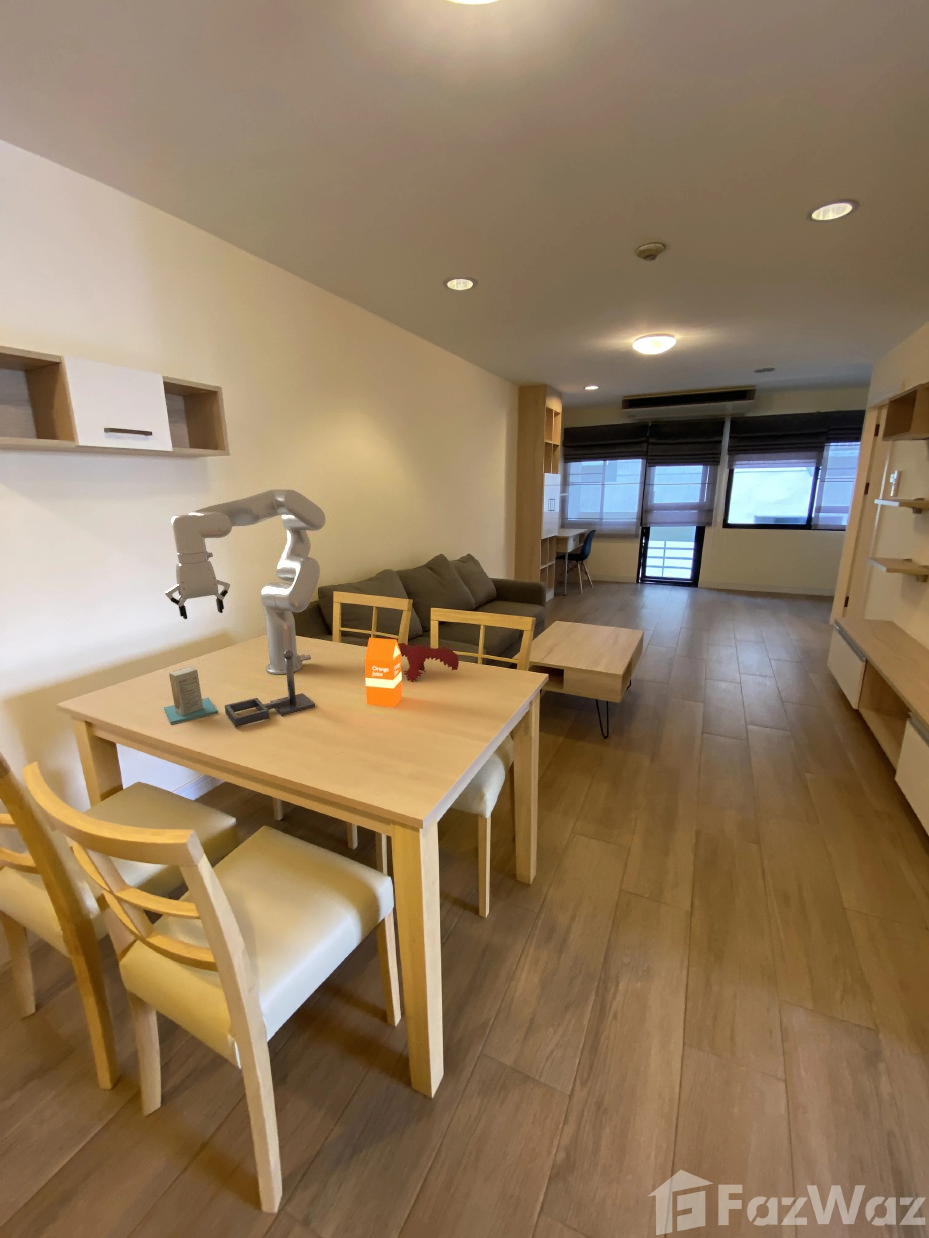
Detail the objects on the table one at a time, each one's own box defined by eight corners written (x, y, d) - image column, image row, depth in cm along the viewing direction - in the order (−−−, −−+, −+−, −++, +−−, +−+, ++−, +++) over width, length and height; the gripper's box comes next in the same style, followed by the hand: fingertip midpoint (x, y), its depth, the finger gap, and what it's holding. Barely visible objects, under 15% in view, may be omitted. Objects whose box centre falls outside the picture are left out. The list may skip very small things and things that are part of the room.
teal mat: (208, 699, 154) (208, 697, 154) (218, 713, 145) (217, 710, 145) (164, 709, 147) (163, 707, 147) (170, 724, 138) (170, 721, 137)
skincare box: (196, 704, 148) (191, 666, 145) (203, 708, 146) (198, 669, 143) (173, 712, 143) (168, 672, 140) (180, 716, 141) (175, 675, 138)
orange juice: (394, 707, 150) (392, 643, 145) (366, 704, 152) (363, 641, 147) (402, 696, 157) (400, 635, 152) (375, 694, 159) (373, 634, 154)
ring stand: (302, 696, 157) (298, 642, 153) (315, 707, 149) (311, 651, 144) (225, 714, 144) (218, 656, 139) (235, 728, 135) (228, 667, 131)
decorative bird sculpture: (455, 693, 171) (463, 653, 178) (448, 683, 164) (458, 642, 170) (380, 684, 179) (391, 646, 186) (370, 673, 171) (382, 635, 178)
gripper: (221, 553, 152) (230, 607, 157) (156, 560, 142) (168, 618, 147) (228, 556, 147) (237, 612, 152) (161, 564, 136) (172, 623, 141)
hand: (203, 615), depth 149 cm, fingers open, 9 cm apart
